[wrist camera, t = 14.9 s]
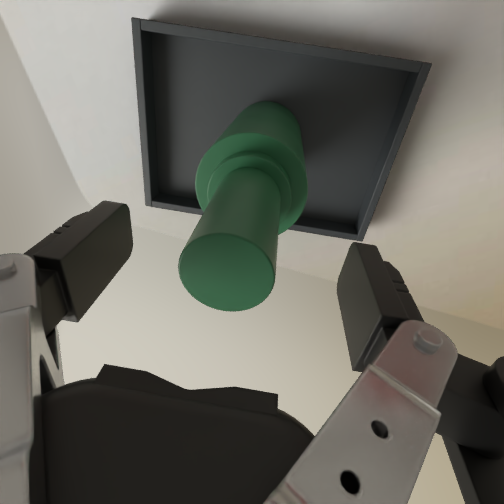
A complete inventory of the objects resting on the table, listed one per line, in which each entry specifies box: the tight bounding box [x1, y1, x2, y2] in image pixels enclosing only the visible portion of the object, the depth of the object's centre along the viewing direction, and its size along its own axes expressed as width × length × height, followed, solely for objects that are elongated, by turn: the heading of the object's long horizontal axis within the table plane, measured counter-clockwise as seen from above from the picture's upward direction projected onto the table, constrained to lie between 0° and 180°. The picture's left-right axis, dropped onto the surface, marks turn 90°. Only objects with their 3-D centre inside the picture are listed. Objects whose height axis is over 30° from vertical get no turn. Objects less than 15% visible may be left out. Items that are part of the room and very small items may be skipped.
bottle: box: [178, 101, 308, 311], centre depth 17 cm, size 6×6×18 cm
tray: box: [131, 17, 432, 241], centre depth 24 cm, size 19×13×2 cm
